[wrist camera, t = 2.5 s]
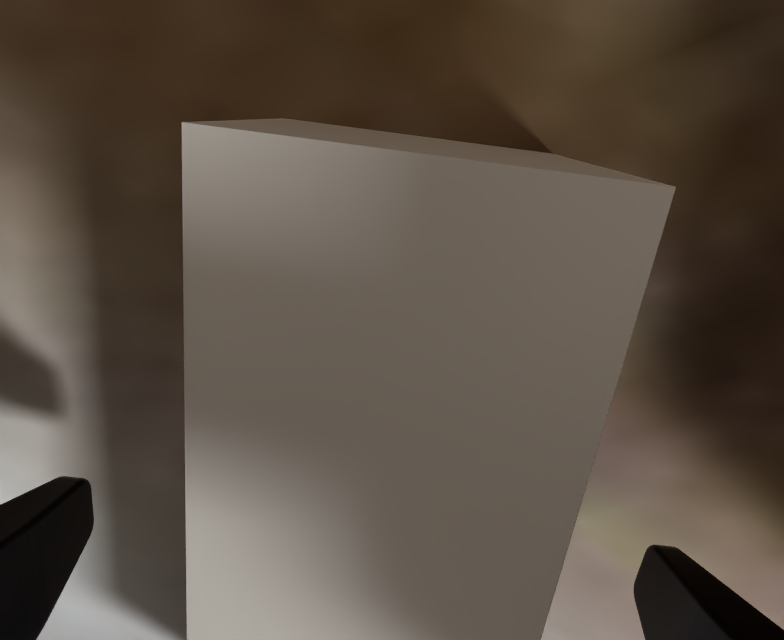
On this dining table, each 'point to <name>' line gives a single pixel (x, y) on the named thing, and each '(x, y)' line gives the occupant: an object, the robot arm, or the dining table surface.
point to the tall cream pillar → (395, 375)
